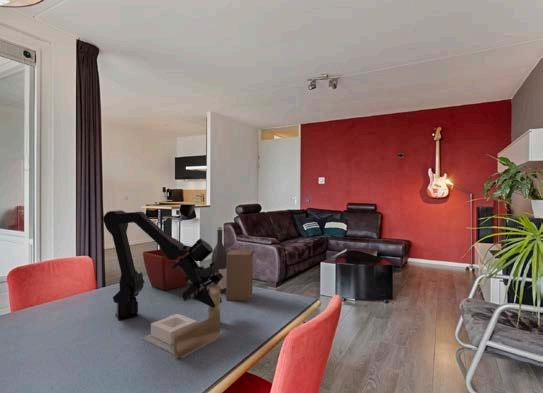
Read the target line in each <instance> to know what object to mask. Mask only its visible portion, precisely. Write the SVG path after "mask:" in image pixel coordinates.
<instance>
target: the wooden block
mask: <svg viewBox="0 0 543 393" xmlns="http://www.w3.org/2000/svg"><path fill="white" fill-rule="evenodd" d="M253 263H254V250H247V249H245V250H243V249H232V250H230V251H229V252H227V266H226V291H225V300H226V301H235V302H236V301H238V302H239V301H240V302H249V301H250V299H251V297H252V295H253V284H254V283H253V282H254V280H253V277H254V276H253V275H254V274H253V272H254V268H253V267H254V264H253Z"/></svg>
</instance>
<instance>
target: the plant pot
mask: <svg viewBox="0 0 543 393" xmlns="http://www.w3.org/2000/svg"><path fill="white" fill-rule="evenodd" d="M188 254H189V253H187V254H186V255H184V257H186V256H187V255H188ZM142 257H143V262H144V263H143V264H144V266H145V270H146V274H147V278H148V280H149V283H150V285H151V287H154V288H157V289H159V290H163V291H169V290H173V289H176V288H177V289H178V288H181V287H184V286H185V287H186V286H187V285H188V284H189V282H190V281H189V280H188V281H186V280H185V278H186V276H185V274H184V273H183V271H182V270H181V269H180V267H179V268H177V269H173V265H174V261H178V260H179V259H181V258H182V257H183V256H180V257H179V258H177V259H175V260H170V259H168V258H167V257H166V256H165V255H164V253H163V252H162V251H161V249H160V248H159V249H154V250H153V249H152V250H145V251H142Z"/></svg>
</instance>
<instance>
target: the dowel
mask: <svg viewBox="0 0 543 393" xmlns="http://www.w3.org/2000/svg"><path fill="white" fill-rule="evenodd" d="M209 296H210V297H211V299H212V300H213V302H214V304H215V307H214V308H212V307H210V306H208V319H209V318H211V317H214V316H219V317H220V318H221V303H220V297H221V292H220V285H210V286H209Z"/></svg>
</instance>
